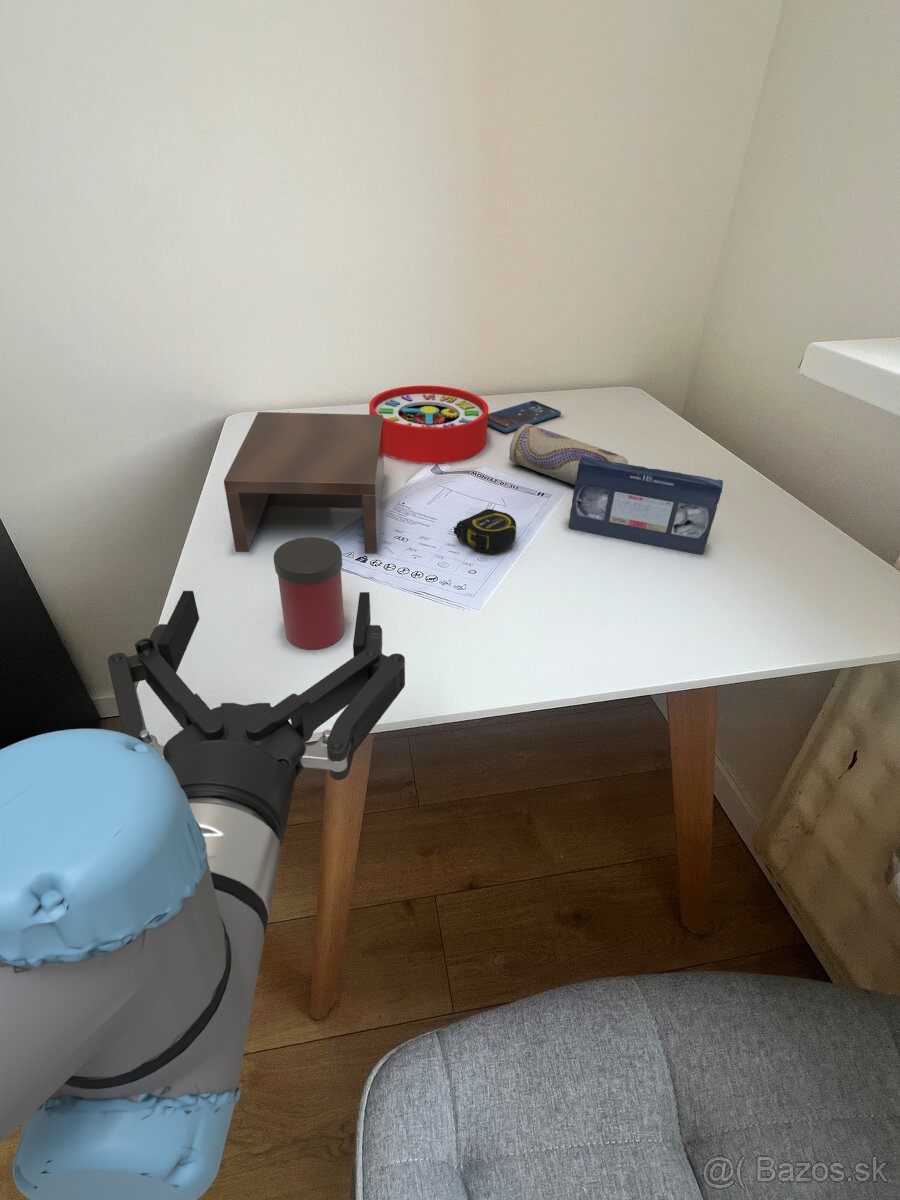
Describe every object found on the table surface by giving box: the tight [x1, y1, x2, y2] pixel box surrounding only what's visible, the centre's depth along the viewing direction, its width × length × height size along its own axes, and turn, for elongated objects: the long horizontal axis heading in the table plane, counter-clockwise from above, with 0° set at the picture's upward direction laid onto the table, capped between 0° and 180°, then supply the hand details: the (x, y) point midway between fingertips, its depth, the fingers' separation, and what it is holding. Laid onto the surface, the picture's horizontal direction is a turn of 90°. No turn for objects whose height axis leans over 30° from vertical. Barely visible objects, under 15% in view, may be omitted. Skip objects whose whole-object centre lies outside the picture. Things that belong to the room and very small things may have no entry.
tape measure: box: [453, 508, 517, 553], centre depth 92 cm, size 7×7×4 cm
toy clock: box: [368, 385, 489, 465], centre depth 118 cm, size 20×6×20 cm
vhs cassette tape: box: [568, 457, 724, 555], centre depth 93 cm, size 18×3×10 cm, turn 70°
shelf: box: [223, 411, 385, 554], centre depth 95 cm, size 18×22×10 cm
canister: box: [273, 536, 346, 651], centre depth 74 cm, size 7×7×10 cm
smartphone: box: [487, 400, 562, 433], centre depth 129 cm, size 8×1×15 cm
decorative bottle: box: [508, 424, 639, 486], centre depth 105 cm, size 26×8×7 cm, turn 51°
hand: (278, 605), depth 55 cm, fingers open, 13 cm apart
